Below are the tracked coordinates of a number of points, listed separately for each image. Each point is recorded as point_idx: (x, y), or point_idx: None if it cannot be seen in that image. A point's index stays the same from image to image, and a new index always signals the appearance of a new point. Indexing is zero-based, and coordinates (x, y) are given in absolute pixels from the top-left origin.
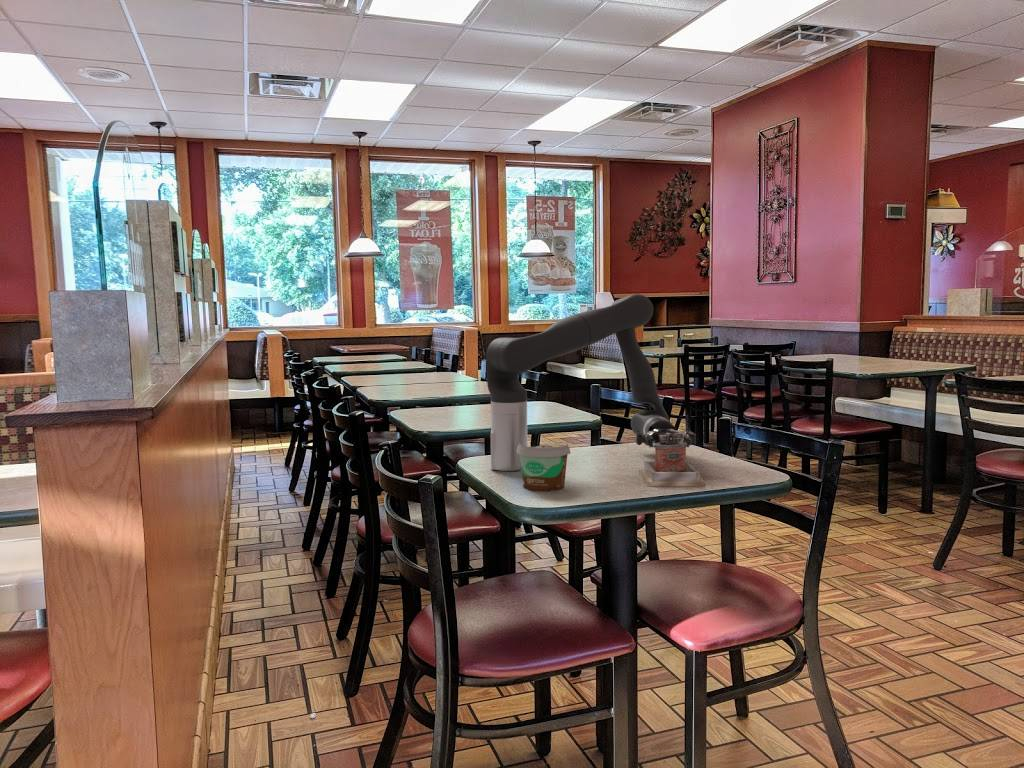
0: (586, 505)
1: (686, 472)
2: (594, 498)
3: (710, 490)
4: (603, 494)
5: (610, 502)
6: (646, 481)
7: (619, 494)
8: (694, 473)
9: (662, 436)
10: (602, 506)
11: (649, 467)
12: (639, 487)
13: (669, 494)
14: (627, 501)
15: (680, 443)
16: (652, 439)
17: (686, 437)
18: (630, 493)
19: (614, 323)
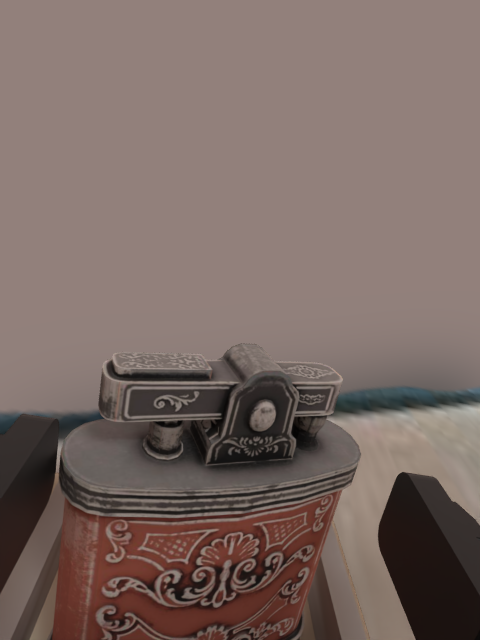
0: (445, 399)
1: None
2: (456, 434)
3: None
4: (452, 460)
5: (400, 404)
6: (333, 526)
7: (402, 452)
8: None
9: (313, 367)
10: (407, 389)
11: (346, 594)
12: (354, 515)
13: None
14: (360, 403)
15: (131, 440)
16: (401, 474)
17: (27, 438)
18: (370, 455)
19: None
